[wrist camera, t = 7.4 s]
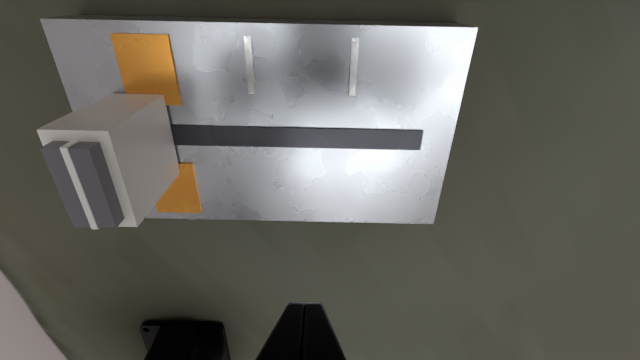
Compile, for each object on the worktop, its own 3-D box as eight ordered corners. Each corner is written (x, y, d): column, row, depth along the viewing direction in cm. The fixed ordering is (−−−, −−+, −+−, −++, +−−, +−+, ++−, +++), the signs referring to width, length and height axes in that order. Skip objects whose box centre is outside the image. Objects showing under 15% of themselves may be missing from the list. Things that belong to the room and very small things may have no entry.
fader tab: (180, 172, 17) (129, 237, 13) (133, 171, 17) (65, 236, 13) (163, 94, 15) (96, 138, 11) (110, 93, 15) (21, 136, 11)
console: (422, 199, 21) (434, 225, 19) (132, 193, 21) (108, 218, 19) (457, 22, 16) (479, 27, 14) (78, 14, 16) (37, 18, 14)
